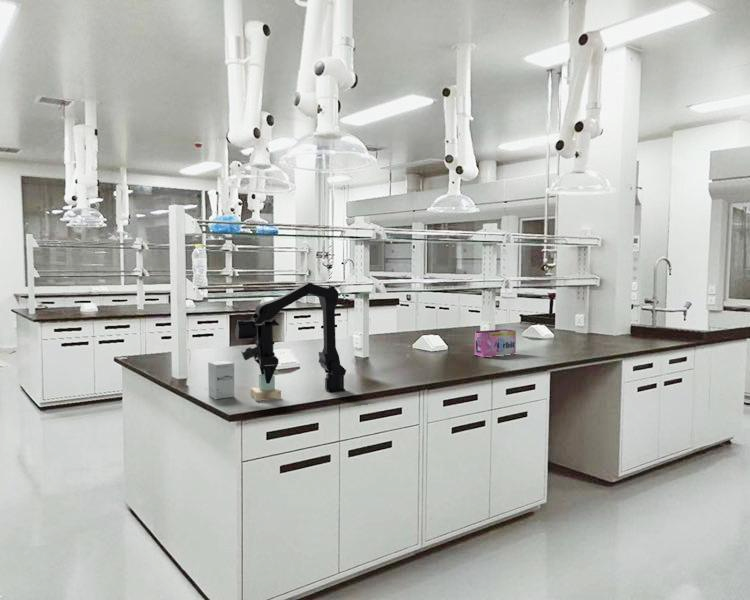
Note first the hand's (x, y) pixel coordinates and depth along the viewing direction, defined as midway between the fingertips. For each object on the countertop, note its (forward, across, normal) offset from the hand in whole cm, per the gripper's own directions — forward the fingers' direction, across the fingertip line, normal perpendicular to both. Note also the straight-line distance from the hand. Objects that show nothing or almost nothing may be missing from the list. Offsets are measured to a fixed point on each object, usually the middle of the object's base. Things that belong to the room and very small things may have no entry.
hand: (265, 381), depth 201 cm
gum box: (+7, -56, +132) cm, 144 cm away
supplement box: (+6, -7, -15) cm, 18 cm away
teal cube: (+3, 0, 0) cm, 3 cm away
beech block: (+6, 0, 0) cm, 7 cm away
